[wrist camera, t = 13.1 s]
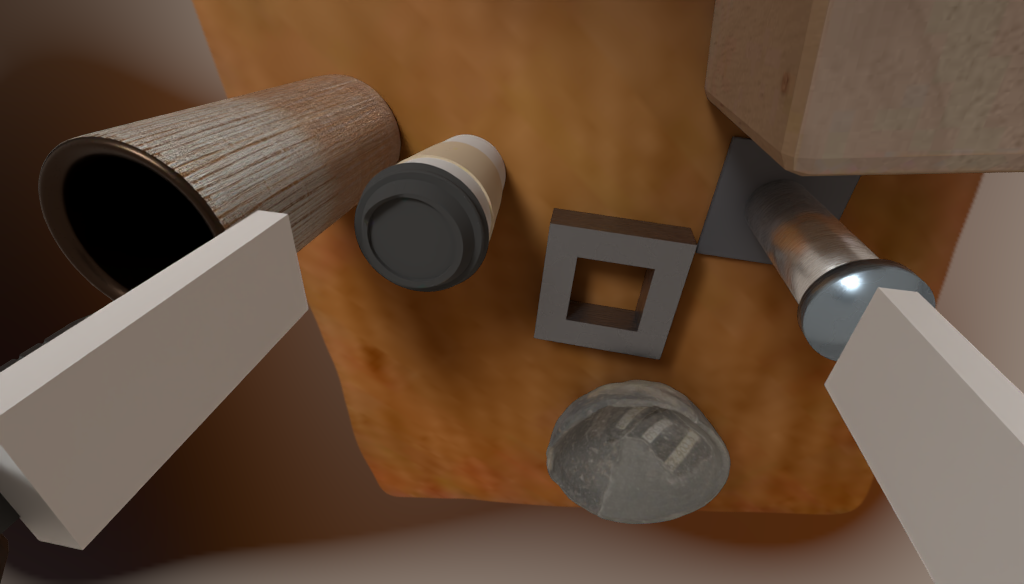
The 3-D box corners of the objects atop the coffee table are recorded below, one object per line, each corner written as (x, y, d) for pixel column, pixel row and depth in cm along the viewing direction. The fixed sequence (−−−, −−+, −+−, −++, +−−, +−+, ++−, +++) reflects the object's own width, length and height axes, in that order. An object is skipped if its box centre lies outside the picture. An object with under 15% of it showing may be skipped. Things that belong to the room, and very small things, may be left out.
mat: (732, 136, 37) (734, 137, 37) (867, 153, 36) (870, 155, 36) (695, 250, 43) (696, 252, 42) (812, 268, 42) (814, 270, 41)
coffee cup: (538, 189, 42) (509, 268, 29) (460, 238, 46) (405, 327, 33) (476, 98, 39) (415, 143, 26) (398, 158, 43) (312, 223, 30)
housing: (554, 208, 43) (550, 223, 40) (690, 228, 42) (697, 245, 39) (538, 317, 49) (533, 337, 46) (656, 337, 48) (659, 359, 45)
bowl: (663, 486, 59) (671, 549, 52) (530, 436, 58) (521, 493, 51) (750, 389, 49) (773, 450, 43) (592, 327, 49) (590, 379, 42)
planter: (403, 85, 39) (213, 161, 20) (400, 198, 45) (247, 345, 26) (289, 63, 40) (-2, 116, 21) (299, 177, 45) (75, 304, 26)
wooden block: (700, 100, 36) (783, 184, 20) (719, -61, 31) (854, -137, 15) (845, 94, 35) (1075, 179, 18) (891, -79, 30) (1270, -189, 13)
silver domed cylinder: (751, 166, 38) (834, 260, 24) (831, 177, 37) (961, 280, 24) (726, 235, 41) (786, 352, 27) (799, 246, 40) (897, 372, 27)
